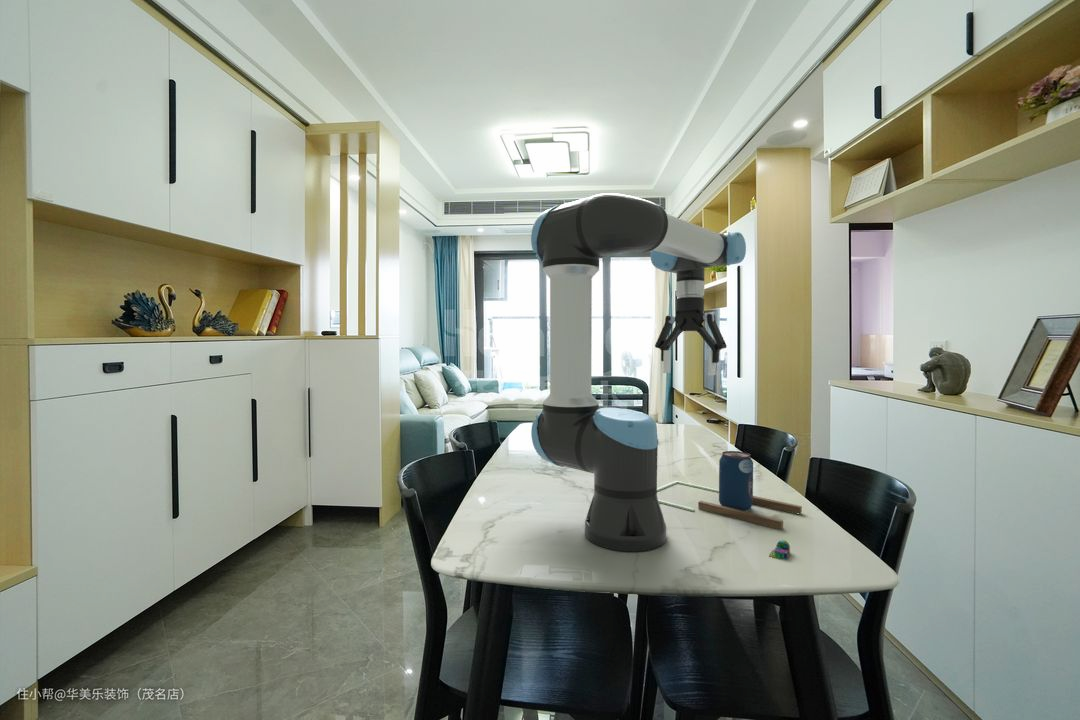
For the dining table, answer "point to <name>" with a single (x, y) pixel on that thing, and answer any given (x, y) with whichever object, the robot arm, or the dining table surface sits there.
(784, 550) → the multicolored toy figure
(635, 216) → the robot arm
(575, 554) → the dining table surface
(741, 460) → the soda can
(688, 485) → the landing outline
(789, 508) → the walnut rails
